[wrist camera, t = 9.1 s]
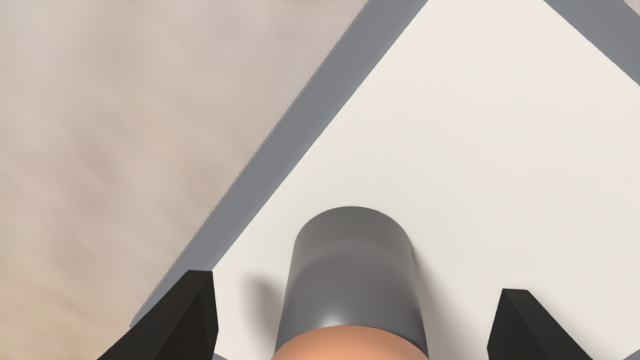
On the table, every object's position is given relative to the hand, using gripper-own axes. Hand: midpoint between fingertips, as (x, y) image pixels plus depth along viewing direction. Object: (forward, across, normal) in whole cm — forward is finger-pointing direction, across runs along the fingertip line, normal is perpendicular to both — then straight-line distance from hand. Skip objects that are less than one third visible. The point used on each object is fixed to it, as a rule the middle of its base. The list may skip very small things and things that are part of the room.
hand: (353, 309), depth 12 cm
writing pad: (+3, -3, +1) cm, 4 cm away
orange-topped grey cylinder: (+2, 0, 0) cm, 2 cm away
